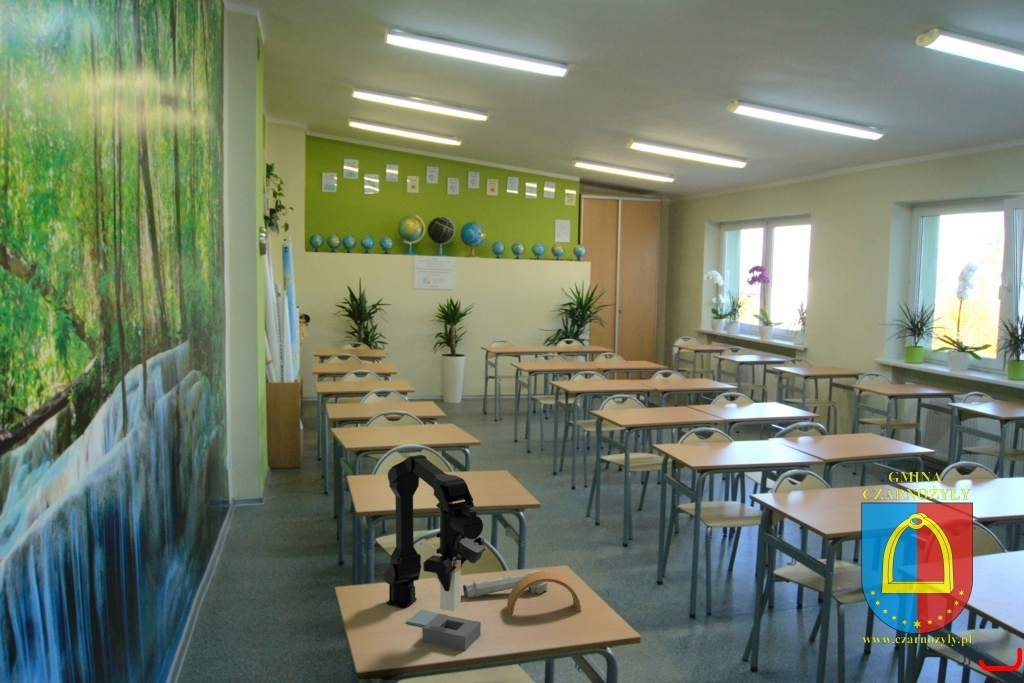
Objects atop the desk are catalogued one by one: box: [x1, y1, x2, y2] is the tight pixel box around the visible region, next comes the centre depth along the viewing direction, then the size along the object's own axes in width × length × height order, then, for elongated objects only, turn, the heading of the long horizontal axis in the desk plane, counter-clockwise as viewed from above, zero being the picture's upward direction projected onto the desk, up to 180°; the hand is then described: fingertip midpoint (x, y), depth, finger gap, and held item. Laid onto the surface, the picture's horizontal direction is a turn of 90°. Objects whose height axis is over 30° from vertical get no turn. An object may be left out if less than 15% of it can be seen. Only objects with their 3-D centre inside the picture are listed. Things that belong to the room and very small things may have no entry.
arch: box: [506, 570, 582, 616], centre depth 208 cm, size 6×20×10 cm, turn 97°
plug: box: [439, 559, 462, 613], centre depth 190 cm, size 4×4×12 cm
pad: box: [405, 609, 447, 628], centre depth 201 cm, size 8×8×1 cm
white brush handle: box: [462, 569, 549, 599], centre depth 219 cm, size 5×7×25 cm
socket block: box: [421, 613, 482, 651], centre depth 190 cm, size 12×9×4 cm
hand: (450, 588), depth 190 cm, fingers closed on plug, 3 cm apart
